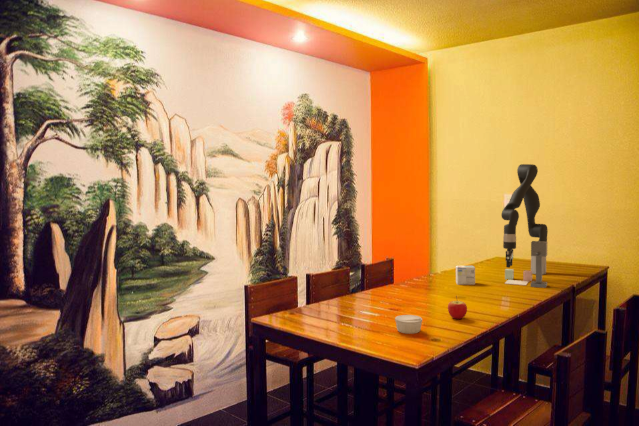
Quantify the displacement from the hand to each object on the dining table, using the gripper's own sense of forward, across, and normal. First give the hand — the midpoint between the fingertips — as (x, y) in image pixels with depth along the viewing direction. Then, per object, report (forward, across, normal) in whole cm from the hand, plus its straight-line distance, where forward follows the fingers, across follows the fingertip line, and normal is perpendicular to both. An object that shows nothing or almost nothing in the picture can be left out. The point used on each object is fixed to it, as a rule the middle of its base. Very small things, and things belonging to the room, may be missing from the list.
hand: (509, 266), depth 317 cm
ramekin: (+11, -135, +19) cm, 137 cm away
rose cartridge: (+8, 0, -11) cm, 14 cm away
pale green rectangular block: (+8, 0, 0) cm, 8 cm away
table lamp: (+8, -16, -19) cm, 26 cm away
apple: (+10, -107, +6) cm, 108 cm away
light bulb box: (+9, -26, +21) cm, 35 cm away
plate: (+8, -10, -6) cm, 15 cm away
